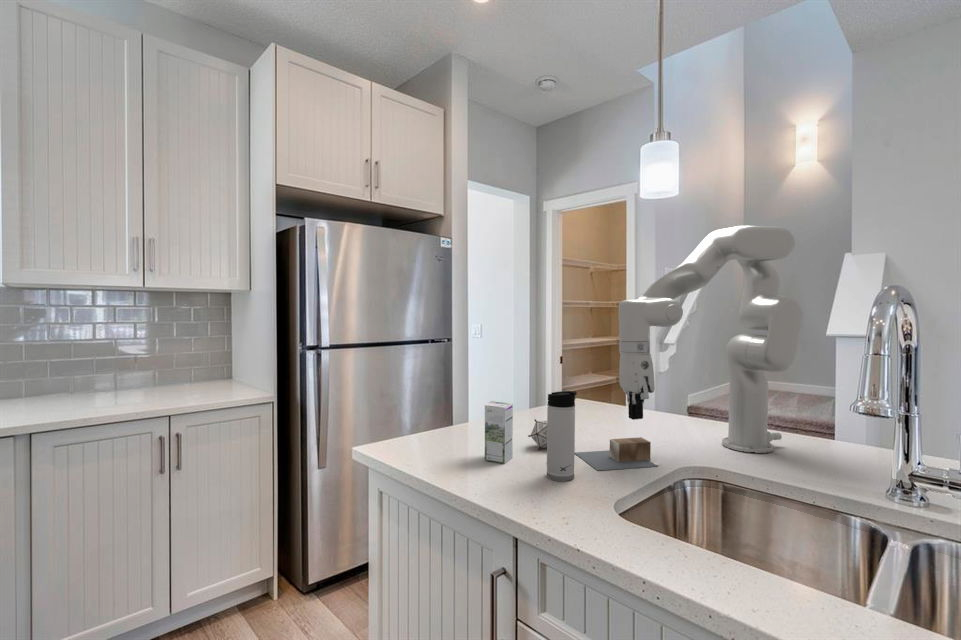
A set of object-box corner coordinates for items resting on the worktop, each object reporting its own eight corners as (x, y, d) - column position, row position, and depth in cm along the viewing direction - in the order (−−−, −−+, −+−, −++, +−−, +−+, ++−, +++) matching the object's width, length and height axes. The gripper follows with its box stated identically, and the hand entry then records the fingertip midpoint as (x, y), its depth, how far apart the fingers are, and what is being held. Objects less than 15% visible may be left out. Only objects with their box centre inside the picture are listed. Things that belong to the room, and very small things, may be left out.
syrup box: (513, 457, 126) (513, 401, 126) (504, 464, 121) (505, 406, 120) (493, 454, 129) (493, 400, 128) (483, 461, 123) (484, 404, 123)
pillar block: (641, 437, 129) (609, 439, 127) (650, 442, 124) (618, 444, 123) (640, 454, 129) (609, 456, 127) (650, 459, 125) (617, 461, 123)
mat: (629, 449, 134) (629, 449, 134) (657, 466, 120) (657, 465, 120) (574, 453, 130) (574, 452, 130) (597, 471, 116) (597, 470, 116)
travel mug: (569, 484, 108) (570, 394, 107) (542, 478, 112) (543, 391, 111) (579, 475, 113) (580, 389, 113) (553, 470, 117) (554, 387, 116)
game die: (550, 463, 133) (561, 440, 127) (521, 450, 135) (531, 427, 129) (558, 440, 140) (568, 417, 134) (530, 428, 142) (539, 405, 136)
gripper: (664, 349, 119) (665, 424, 119) (632, 344, 133) (634, 411, 134) (636, 351, 117) (637, 427, 118) (607, 345, 132) (608, 413, 132)
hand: (635, 418), depth 126 cm, fingers closed
